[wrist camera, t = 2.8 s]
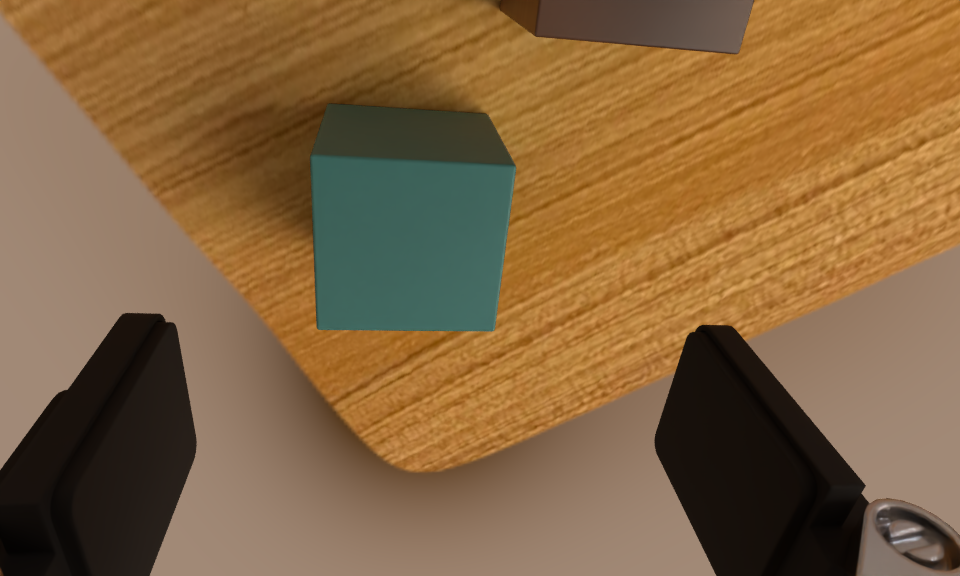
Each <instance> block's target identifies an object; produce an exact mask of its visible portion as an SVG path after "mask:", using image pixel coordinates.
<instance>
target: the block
mask: <svg viewBox="0 0 960 576" xmlns="http://www.w3.org/2000/svg"><path fill="white" fill-rule="evenodd" d="M753 3H754V0H501V4H500V11H502V12H503V13H504V14H506V15H507V16H509V17H510V18H511V19H513V20H514V21H515V22H517V23H518V24H520V25H521V26H522V27H524V28H525V29H526V30H528V31H529V32H530V33H532V34H533V35H535V36H536V37H546V38H557V39H569V40H580V41H591V42H602V43H614V44H625V45H636V46H647V47H659V48H670V49H681V50H692V51H704V52H715V53H726V54H738V53H739V51H740V47H741V44H742V40H743V37H744V33H745V30H746V27H747V23H748V20H749V16H750V13H751V9H752V6H753Z"/></svg>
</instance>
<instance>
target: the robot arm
mask: <svg viewBox="0 0 960 576" xmlns="http://www.w3.org/2000/svg"><path fill="white" fill-rule="evenodd" d="M655 449H656V453H657V455H658V457H659V459H660V461H661V463H662V465H663V468H664V470H665V472H666V474H667V476H668V478H669V480H670V482H671V484H672V486H673V487H674V490H675V492H676V494H677V496H678V498H679V500H680V502H681V504H682V506H683V508H684V510H685V512H686V515H687V516H688V519H689V520H690V523H691V525H692V527H693V529H694V531H695V533H696V535H697V537H698V539H699V541H700V543H701V545H702V547H703V549H704V551H705V553H706V555H707V557H708V559H709V562H710V564H711V566H712V568H713V570H714V572H715V574H716V576H960V535H959V534H958V533H957V532H956V531H955V530H954V529H953V528H952V527H951V526H950V525H948V524H947V523H946V522H944V521H942V520H941V519H940V518H939V517H937V516H936V515H934V514H932V513H931V512H929V511H927V510H925V509H923V508H921V507H919V506H916V505H914V504H911V503H908V502H905V501H902V500H896V499H889V498H886V499H877V500H875V501H873V502H872V503H869V502H868V501H867V500H866V499H865V498H864V496H863V495H862V494H861V493H862V491H863V489H864V488H865V486H866V485H865V484H864V483H863V482H862V480H861V479H860V478H859V477H858V476H857V475H856V473H855V472H854V471H853V470H852V468H850V466H849V465H848V464H847V463H846V461H845V460H844V459H843V458H842V457H841V456H840V454H839V453H838V452H837V451H836V449H835V448H834V447H833V446H832V445H831V443H830V442H829V441H828V440H827V439H826V437H825V436H824V435H823V434H822V433H821V432H820V430H819V429H818V428H817V427H816V425H815V424H814V423H813V422H812V421H811V419H810V418H809V417H808V416H807V415H806V414H805V412H804V411H803V410H802V409H801V407H800V406H799V405H798V404H797V403H796V401H795V400H794V399H793V398H792V397H791V396H790V394H789V393H788V392H787V391H786V389H785V388H784V387H783V386H782V385H781V384H780V382H779V381H778V380H777V379H776V378H775V376H774V375H773V374H772V373H771V372H770V370H769V369H768V368H767V367H766V366H765V364H764V363H763V362H762V361H761V360H760V359H759V357H758V356H757V355H756V354H755V352H754V351H753V350H752V349H751V348H750V346H749V345H748V344H747V343H746V342H745V340H744V339H743V338H742V337H741V336H740V334H739V333H738V332H737V331H736V330H735V329H734V328H733V327H732V326H728V325H701V326H699V327H698V328H697V329H696V331H695V332H692V333H690V334H689V335H688V336H687V338H686V341H685V344H684V347H683V351H682V354H681V357H680V360H679V363H678V366H677V369H676V372H675V375H674V378H673V382H672V385H671V388H670V391H669V394H668V397H667V400H666V403H665V406H664V410H663V412H662V416H661V419H660V422H659V425H658V428H657V431H656V434H655ZM195 453H196V434H195V429H194V423H193V417H192V412H191V406H190V400H189V394H188V389H187V383H186V378H185V372H184V366H183V361H182V355H181V349H180V344H179V338H178V332H177V328H176V325H175V324H174V323H171V322H166V321H165V319H164V317H163V316H162V315H161V314H143V313H125V314H122V316H120V318H119V319H118V320H117V322H116V323H115V324H114V326H113V327H112V329H111V330H110V332H109V333H108V334H107V336H106V337H105V339H104V340H103V341H102V343H101V344H100V345H99V347H98V349H97V350H96V351H95V353H94V354H93V355H92V357H91V358H90V359H89V361H88V362H87V364H86V365H85V366H84V368H83V369H82V371H81V372H80V373H79V375H78V376H77V378H76V379H75V381H74V382H73V383H72V385H71V386H70V387H69V389H68V390H64V391H62V392H60V393H58V394H57V395H56V396H55V397H54V398H53V399H52V400H51V402H50V403H49V405H48V406H47V407H46V409H45V410H44V411H43V413H42V414H41V415H40V417H39V418H38V419H37V421H36V422H35V423H34V425H33V426H32V428H31V429H30V430H29V432H28V433H27V434H26V436H25V437H24V438H23V440H22V441H21V443H20V444H19V445H18V447H17V448H16V449H15V451H14V452H13V453H12V455H11V456H10V458H9V459H8V460H7V462H6V463H5V464H4V466H3V467H2V469H1V470H0V576H150V573H151V570H152V568H153V565H154V563H155V560H156V557H157V555H158V552H159V550H160V547H161V544H162V542H163V539H164V536H165V534H166V531H167V529H168V526H169V523H170V521H171V518H172V515H173V513H174V511H175V508H176V505H177V503H178V500H179V498H180V495H181V492H182V490H183V487H184V484H185V482H186V479H187V477H188V474H189V471H190V469H191V466H192V464H193V461H194V458H195Z"/></svg>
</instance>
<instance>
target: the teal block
mask: <svg viewBox="0 0 960 576" xmlns="http://www.w3.org/2000/svg"><path fill="white" fill-rule="evenodd" d="M310 172H311V197H312V222H313V247H314V272H315V297H316V321H317V328H318V329H319V330H395V331H494V329H495V324H496V316H497V309H498V301H499V293H500V286H501V278H502V271H503V263H504V256H505V248H506V241H507V233H508V226H509V218H510V211H511V203H512V196H513V188H514V181H515V173H516V165H515V164H514V162H513V160H512V158H511V156H510V154H509V152H508V151H507V149H506V147H505V145H504V143H503V141H502V140H501V138H500V136H499V134H498V132H497V130H496V128H495V127H494V125H493V123H492V121H491V119H490V117H489V115H487V114H479V113H464V112H450V111H435V110H420V109H405V108H390V107H375V106H360V105H345V104H328V105H327V108H326V111H325V113H324V116H323V119H322V122H321V125H320V128H319V131H318V134H317V137H316V140H315V143H314V146H313V149H312V152H311V155H310Z"/></svg>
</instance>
